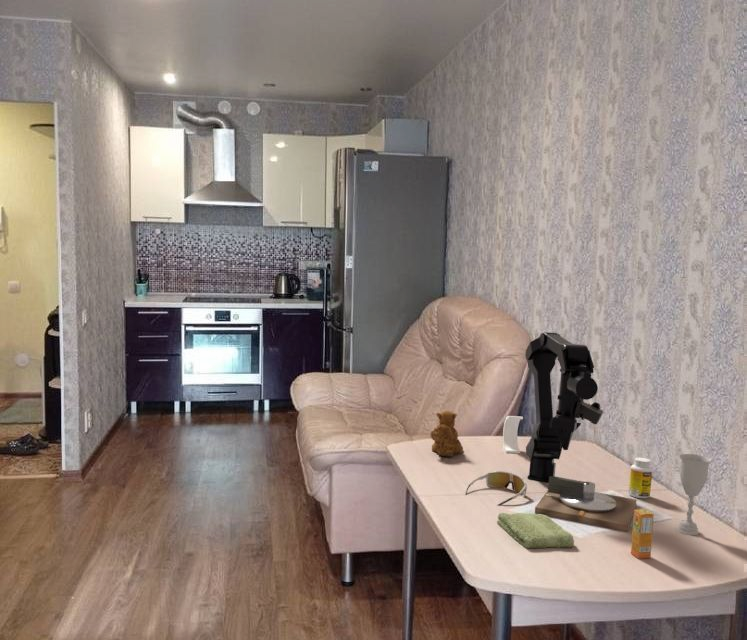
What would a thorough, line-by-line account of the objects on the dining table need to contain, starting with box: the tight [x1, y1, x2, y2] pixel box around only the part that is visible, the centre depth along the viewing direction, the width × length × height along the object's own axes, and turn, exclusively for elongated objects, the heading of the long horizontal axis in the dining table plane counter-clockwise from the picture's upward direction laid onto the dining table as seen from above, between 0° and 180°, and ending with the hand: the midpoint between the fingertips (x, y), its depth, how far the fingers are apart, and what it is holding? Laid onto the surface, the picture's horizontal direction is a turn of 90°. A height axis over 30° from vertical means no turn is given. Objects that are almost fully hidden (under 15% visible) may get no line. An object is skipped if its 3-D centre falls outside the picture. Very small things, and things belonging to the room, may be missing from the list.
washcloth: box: [496, 512, 575, 549], centre depth 172 cm, size 13×18×3 cm
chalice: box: [676, 453, 712, 536], centre depth 179 cm, size 7×7×18 cm
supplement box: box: [630, 508, 654, 559], centre depth 162 cm, size 3×3×10 cm
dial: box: [547, 475, 616, 512], centre depth 192 cm, size 17×14×5 cm
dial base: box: [534, 490, 637, 532], centre depth 192 cm, size 22×22×2 cm
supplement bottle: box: [628, 457, 654, 500], centre depth 205 cm, size 6×6×10 cm
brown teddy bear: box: [429, 410, 464, 458], centre depth 236 cm, size 10×14×13 cm
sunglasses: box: [464, 470, 528, 506], centre depth 199 cm, size 14×15×5 cm
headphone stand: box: [502, 415, 524, 454], centre depth 245 cm, size 5×6×12 cm
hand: (565, 449), depth 199 cm, fingers closed
